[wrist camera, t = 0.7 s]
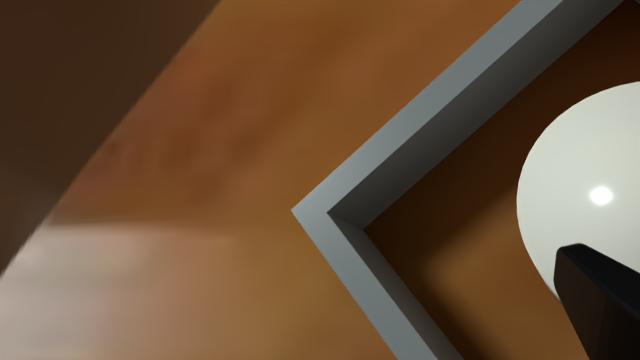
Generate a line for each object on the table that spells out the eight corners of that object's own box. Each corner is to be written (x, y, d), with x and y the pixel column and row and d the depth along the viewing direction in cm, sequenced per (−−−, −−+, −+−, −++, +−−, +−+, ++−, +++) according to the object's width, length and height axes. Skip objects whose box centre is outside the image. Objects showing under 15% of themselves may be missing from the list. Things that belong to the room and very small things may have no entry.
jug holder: (907, 144, 19) (995, 96, 15) (499, 452, 22) (483, 479, 18) (629, -38, 25) (640, -108, 21) (331, 227, 27) (290, 210, 23)
